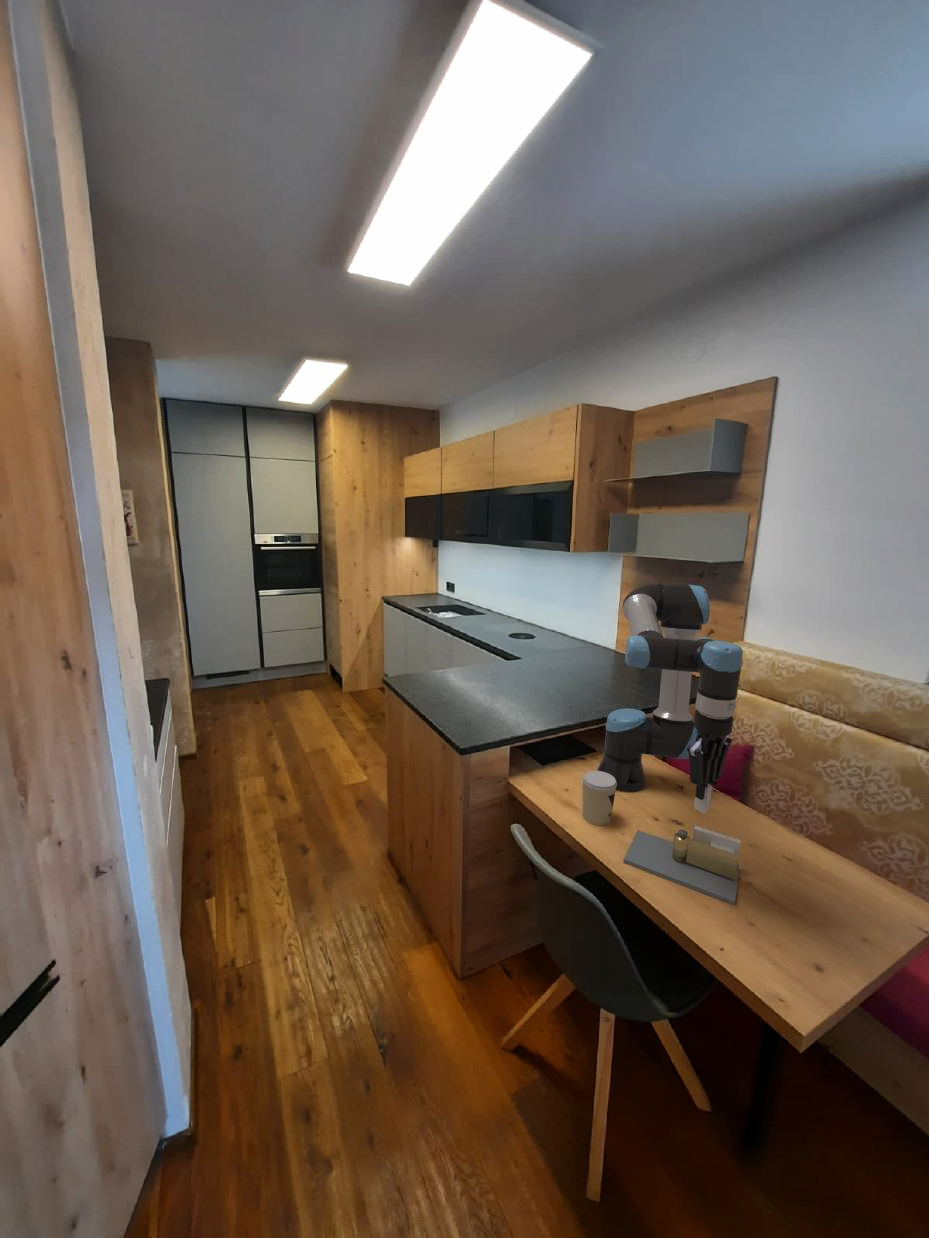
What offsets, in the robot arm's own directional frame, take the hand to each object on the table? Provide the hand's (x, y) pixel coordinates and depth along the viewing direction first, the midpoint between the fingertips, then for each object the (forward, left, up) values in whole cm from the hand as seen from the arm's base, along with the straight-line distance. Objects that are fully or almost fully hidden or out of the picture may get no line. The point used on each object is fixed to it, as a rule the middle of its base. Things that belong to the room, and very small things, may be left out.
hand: (701, 809), depth 109 cm
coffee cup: (-12, -27, -18) cm, 34 cm away
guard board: (-4, -3, -18) cm, 19 cm away
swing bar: (-5, +2, -17) cm, 17 cm away
